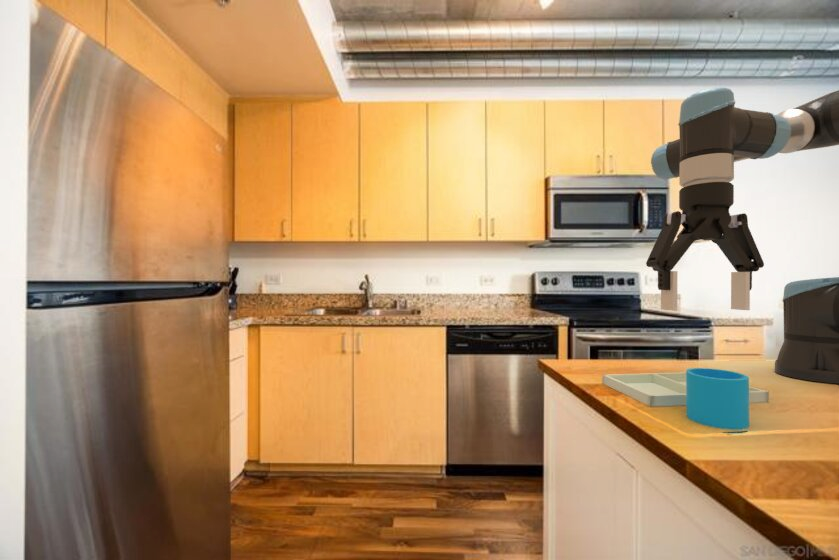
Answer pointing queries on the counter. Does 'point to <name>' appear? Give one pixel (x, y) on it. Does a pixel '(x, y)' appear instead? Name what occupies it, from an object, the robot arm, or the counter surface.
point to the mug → (718, 398)
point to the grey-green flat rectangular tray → (663, 388)
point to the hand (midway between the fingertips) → (705, 310)
